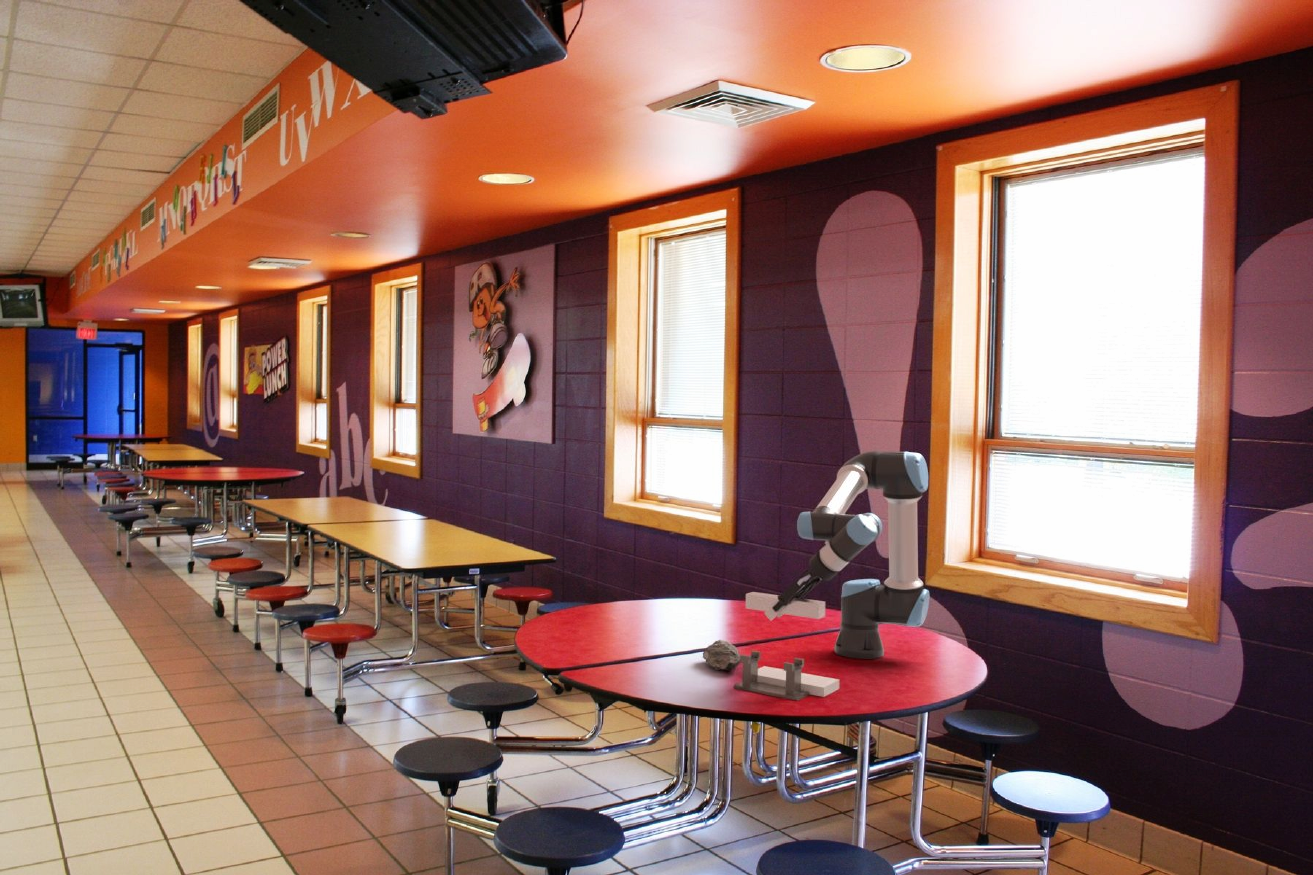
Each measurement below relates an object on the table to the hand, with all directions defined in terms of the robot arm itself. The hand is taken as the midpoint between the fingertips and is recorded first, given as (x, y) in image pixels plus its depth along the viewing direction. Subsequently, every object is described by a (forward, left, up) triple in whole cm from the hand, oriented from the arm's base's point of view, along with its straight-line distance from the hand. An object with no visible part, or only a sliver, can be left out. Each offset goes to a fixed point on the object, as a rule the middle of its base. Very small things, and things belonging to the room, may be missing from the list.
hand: (772, 615), depth 264 cm
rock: (-9, -19, -20) cm, 29 cm away
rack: (+5, +3, -19) cm, 20 cm away
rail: (0, +4, +1) cm, 4 cm away
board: (-4, +5, -19) cm, 20 cm away
